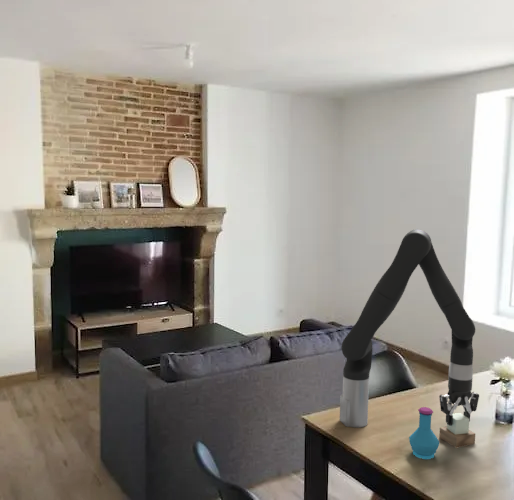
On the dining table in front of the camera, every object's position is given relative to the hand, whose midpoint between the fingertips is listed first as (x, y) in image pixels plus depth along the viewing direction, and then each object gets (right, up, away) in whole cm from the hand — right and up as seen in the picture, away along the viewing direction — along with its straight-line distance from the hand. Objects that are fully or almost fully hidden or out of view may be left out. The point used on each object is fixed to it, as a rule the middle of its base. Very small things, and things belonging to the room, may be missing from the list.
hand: (457, 423), depth 188 cm
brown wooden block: (0, -6, +1) cm, 6 cm away
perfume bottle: (-14, -7, -9) cm, 19 cm away
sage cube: (0, -2, 0) cm, 2 cm away
